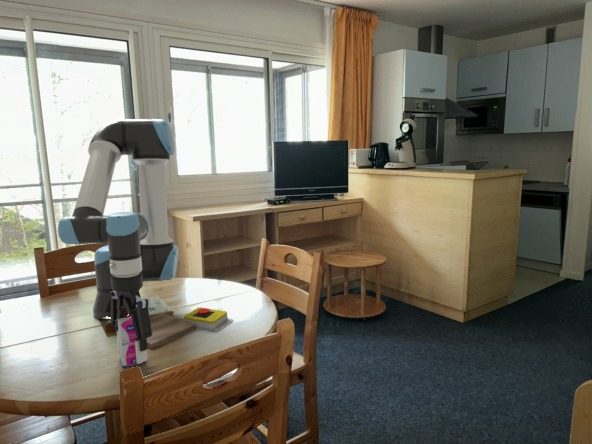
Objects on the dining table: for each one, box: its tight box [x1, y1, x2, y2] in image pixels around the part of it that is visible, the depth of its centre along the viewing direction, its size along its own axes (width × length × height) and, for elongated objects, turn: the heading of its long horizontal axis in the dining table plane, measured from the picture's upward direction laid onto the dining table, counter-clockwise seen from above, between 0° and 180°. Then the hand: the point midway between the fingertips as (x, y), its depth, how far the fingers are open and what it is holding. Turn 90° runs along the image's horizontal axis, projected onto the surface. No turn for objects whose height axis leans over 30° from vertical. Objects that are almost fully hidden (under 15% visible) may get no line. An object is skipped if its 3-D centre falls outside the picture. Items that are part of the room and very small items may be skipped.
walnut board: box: [147, 313, 197, 350], centre depth 131 cm, size 16×16×2 cm
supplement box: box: [118, 316, 147, 369], centre depth 113 cm, size 6×6×12 cm
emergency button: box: [183, 306, 234, 332], centre depth 138 cm, size 9×4×15 cm
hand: (132, 356), depth 113 cm, fingers closed on supplement box, 7 cm apart
